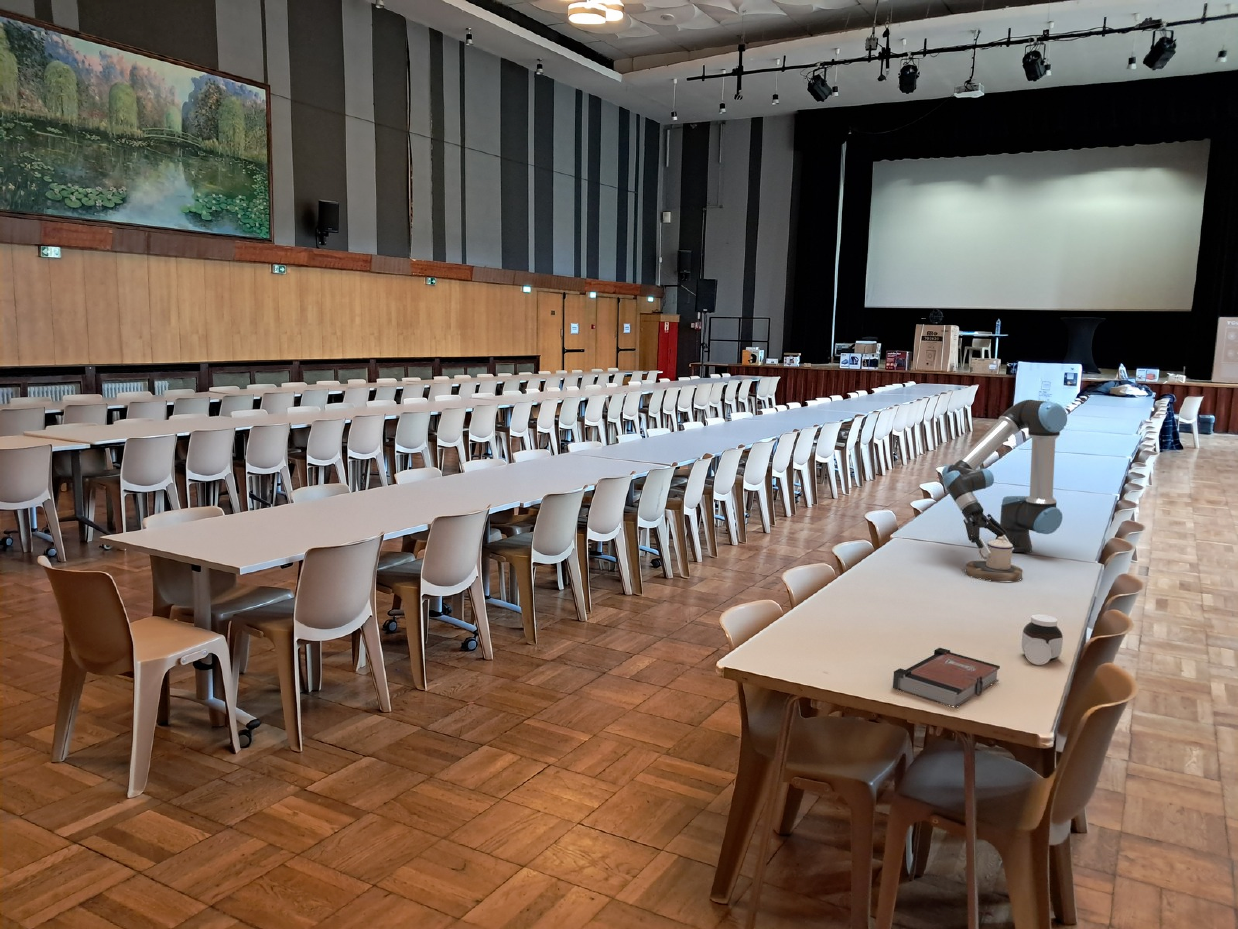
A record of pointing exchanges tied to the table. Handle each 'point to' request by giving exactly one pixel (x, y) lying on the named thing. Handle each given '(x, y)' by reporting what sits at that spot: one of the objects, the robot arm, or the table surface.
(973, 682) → the book
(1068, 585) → the table surface
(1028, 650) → the spread jar
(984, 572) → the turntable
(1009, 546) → the teacup with lid
